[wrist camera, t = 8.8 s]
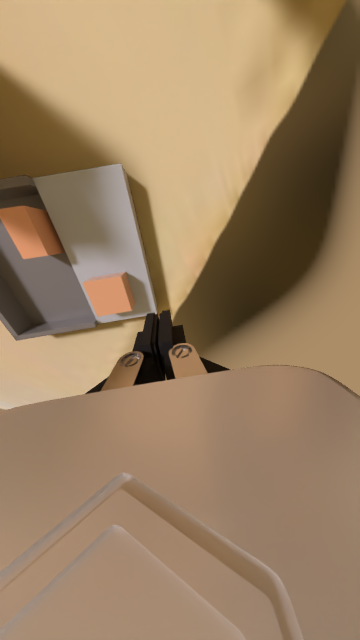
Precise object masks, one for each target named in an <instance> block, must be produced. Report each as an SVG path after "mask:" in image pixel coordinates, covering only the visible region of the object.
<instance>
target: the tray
mask: <svg viewBox="0 0 360 640" xmlns="http://www.w3.org/2000/svg"><path fill="white" fill-rule="evenodd" d="M17 206H28V207H33V208H37V209H42V210H46V211H47V209H46V207H45V205H44V203H43V201H42V198H41V196H40V194H39V192H38V189H37V187H36V185H35V183H34V181H33V178H31V177H29V176H27V175H22V176H16V177H10V178H4V179H0V209H4V208H10V207H17ZM0 320H1V322H2V323H3V324H4V325H5V327H6V328H7V329H8V331H9V332H10V333H11V335H12V336H13V337H14V338H15V340H16V341H17V340H23V339H29V338H35V337H40V336H46V335H52V334H58V333H64V332H69V331H75V330H81V329H87V328H93V327H96V326H97V325H98V323H97V320H96V318H95V316H94V314H93V311H92V309H91V307H90V305H89V303H88V300H87V298H86V296H85V294H84V292H83V289H82V287H81V285H80V283H79V280H78V278H77V276H76V274H75V272H74V269H73V267H72V265H71V263H70V260H69V258H68V256H67V254H66V253H60V254H54V255H48V256H42V257H35V258H29V259H23V258H22V256H21V254H20V252H19V251H18V249H17V247H16V245H15V244H14V242H13V240H12V238H11V237H10V235H9V233H8V231H7V229H6V228H5V226H4V224H3V222H2V221H1V219H0Z"/></svg>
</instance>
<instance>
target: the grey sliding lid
mask: <svg viewBox="0 0 360 640" xmlns="http://www.w3.org/2000/svg"><path fill="white" fill-rule="evenodd" d="M33 181H34V183H35V185H36V187H37V189H38V192H39V194H40V196H41V198H42V201H43V203H44V205H45V207H46V209H47V212H48V214H49V216H50V218H51V221H52V223H53V225H54V227H55V229H56V232H57V234H58V236H59V238H60V240H61V243H62V245H63V247H64V249H65V252H66V254H67V256H68V258H69V260H70V263H71V265H72V267H73V269H74V272H75V274H76V276H77V278H78V280H79V283H80V285H81V287H82V289H83V292H84V294H85V296H86V298H87V300H88V303H89V305H90V307H91V309H92V311H93V314H94V316H95V318H96V320H97V323H98V324H101V323H107V322H112V321H118V320H124V319H130V318H136V317H141V316H147V314H148V313H155V314H157V308H158V306H157V302H156V298H155V293H154V289H153V285H152V281H151V276H150V272H149V268H148V263H147V259H146V255H145V251H144V246H143V242H142V238H141V234H140V229H139V225H138V221H137V216H136V212H135V208H134V204H133V199H132V195H131V191H130V186H129V182H128V178H127V174H126V171H125V170H124V168H123V166H122V165H121V163H120V164H114V165H108V166H102V167H96V168H90V169H84V170H78V171H72V172H65V173H59V174H53V175H47V176H41V177H35V178H33ZM120 272H126V274H127V278H128V281H129V284H130V288H131V291H132V294H133V297H134V301H135V305H134V307H133V309H132V311H128V312H122V313H116V314H110V315H105V316H99V317H97V314H96V312H95V310H94V308H93V305H92V303H91V301H90V299H89V296H88V294H87V292H86V290H85V287H84V285H83V282H84V281H86V280H88V279H90V278H92V277H97V276H103V275H109V274H115V273H120Z"/></svg>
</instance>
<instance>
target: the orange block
mask: <svg viewBox="0 0 360 640" xmlns="http://www.w3.org/2000/svg"><path fill="white" fill-rule="evenodd" d="M0 219H1V221H2V222H3V224H4V226H5V228H6V229H7V231H8V233H9V235H10V237H11V238H12V240H13V242H14V244H15V245H16V247H17V249H18V251H19V252H20V254H21V256H22V258H23V259H29V258H35V257H42V256H48V255H54V254H60V253H66V252H65V249H64V247H63V245H62V243H61V240H60V238H59V236H58V234H57V232H56V229H55V227H54V225H53V223H52V221H51V218H50V216H49V214H48V212H47V211H46V210H42V209H37V208H33V207H28V206H17V207H10V208H4V209H0Z"/></svg>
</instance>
